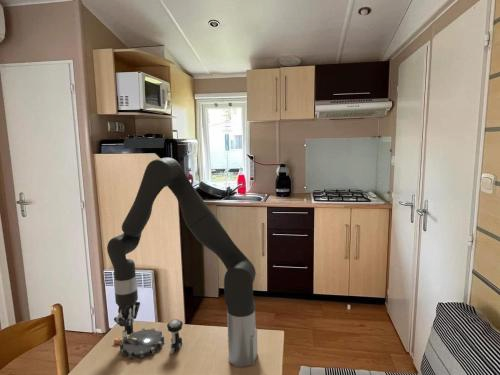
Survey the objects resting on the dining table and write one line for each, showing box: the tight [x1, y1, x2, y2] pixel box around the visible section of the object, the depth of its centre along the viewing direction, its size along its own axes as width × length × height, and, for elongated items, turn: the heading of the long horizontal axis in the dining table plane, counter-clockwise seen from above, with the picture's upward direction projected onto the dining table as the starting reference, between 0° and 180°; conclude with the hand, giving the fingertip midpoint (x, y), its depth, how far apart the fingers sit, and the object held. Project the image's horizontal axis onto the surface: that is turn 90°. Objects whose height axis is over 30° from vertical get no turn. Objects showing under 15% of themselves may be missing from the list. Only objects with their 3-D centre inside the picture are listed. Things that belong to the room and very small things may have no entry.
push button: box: [166, 318, 183, 355], centre depth 109 cm, size 7×5×10 cm
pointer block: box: [113, 337, 123, 346], centre depth 114 cm, size 3×2×2 cm, turn 77°
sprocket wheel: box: [119, 327, 165, 360], centre depth 112 cm, size 15×15×6 cm
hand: (129, 333), depth 114 cm, fingers closed
